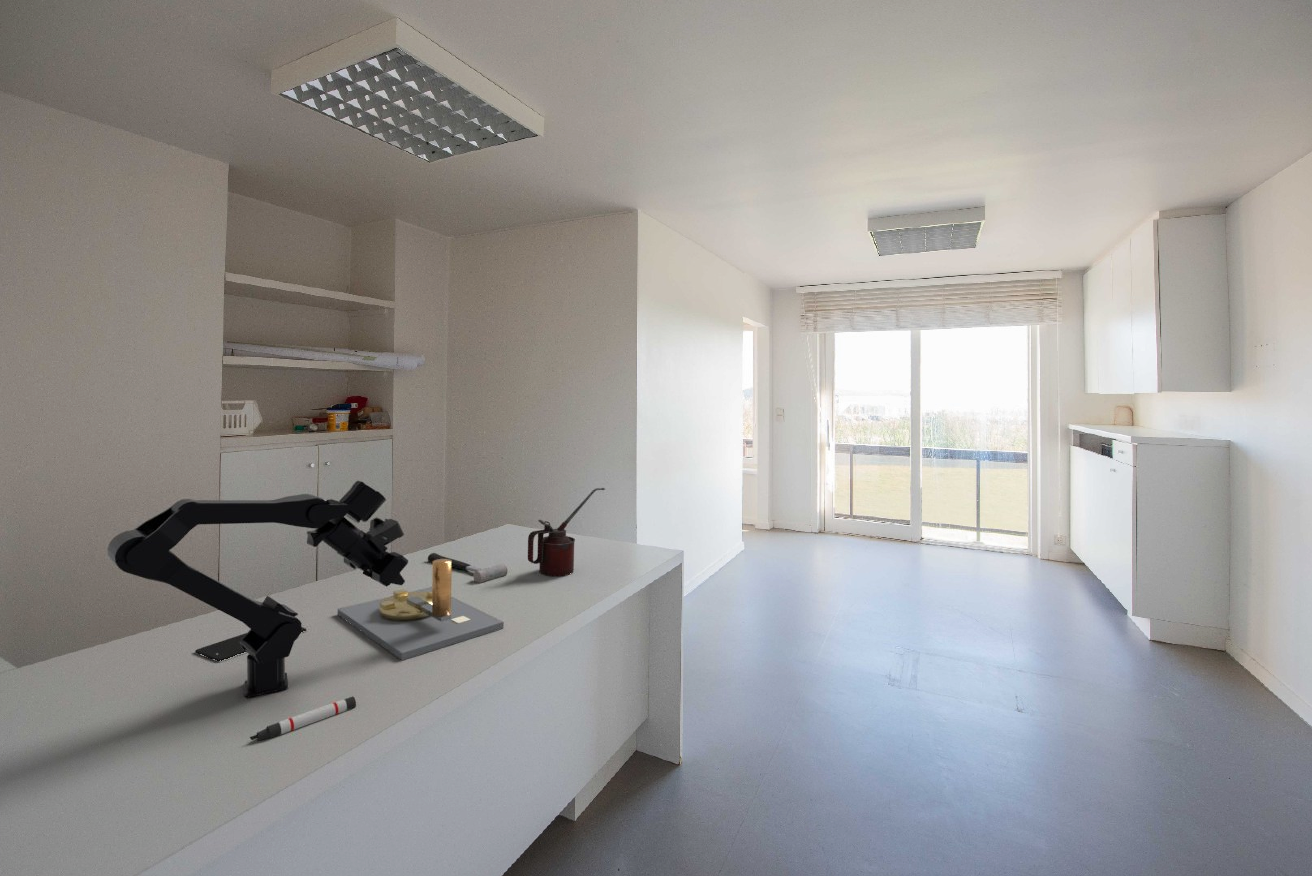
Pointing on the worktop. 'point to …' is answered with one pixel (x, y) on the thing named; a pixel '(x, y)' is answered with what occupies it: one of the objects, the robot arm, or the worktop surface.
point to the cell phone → (225, 648)
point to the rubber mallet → (475, 569)
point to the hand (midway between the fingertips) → (402, 583)
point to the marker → (305, 719)
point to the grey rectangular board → (419, 627)
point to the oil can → (555, 547)
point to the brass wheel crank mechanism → (422, 598)
